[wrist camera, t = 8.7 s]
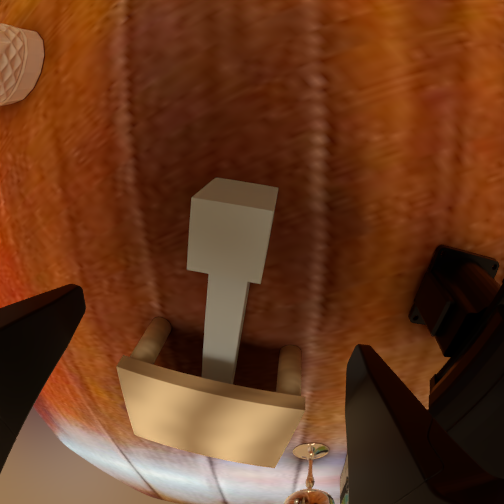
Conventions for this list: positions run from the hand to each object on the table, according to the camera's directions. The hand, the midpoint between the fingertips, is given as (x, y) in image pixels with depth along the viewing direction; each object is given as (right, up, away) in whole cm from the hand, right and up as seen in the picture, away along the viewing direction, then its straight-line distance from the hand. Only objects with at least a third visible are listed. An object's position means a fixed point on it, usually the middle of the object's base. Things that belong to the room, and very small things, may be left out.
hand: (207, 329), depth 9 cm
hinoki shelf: (-1, -9, +17) cm, 19 cm away
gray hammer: (0, -2, +14) cm, 15 cm away
